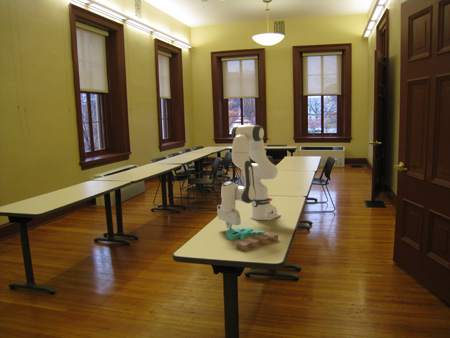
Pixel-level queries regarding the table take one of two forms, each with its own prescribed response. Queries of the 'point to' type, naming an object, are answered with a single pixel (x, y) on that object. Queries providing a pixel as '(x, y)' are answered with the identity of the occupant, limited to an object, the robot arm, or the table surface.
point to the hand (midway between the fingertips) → (229, 228)
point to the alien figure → (241, 233)
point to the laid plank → (256, 241)
